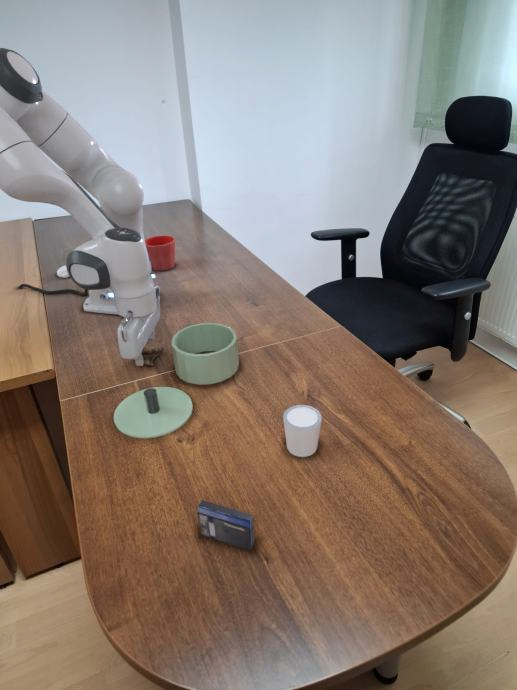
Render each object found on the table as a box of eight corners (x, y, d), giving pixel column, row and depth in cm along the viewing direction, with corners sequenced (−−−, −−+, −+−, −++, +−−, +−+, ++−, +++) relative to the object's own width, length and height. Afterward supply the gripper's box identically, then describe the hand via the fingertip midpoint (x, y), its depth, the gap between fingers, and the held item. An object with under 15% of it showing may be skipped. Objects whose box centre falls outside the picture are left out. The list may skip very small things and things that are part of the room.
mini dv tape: (200, 534, 70) (196, 507, 67) (205, 526, 71) (201, 499, 68) (251, 550, 67) (249, 523, 64) (255, 542, 68) (253, 515, 65)
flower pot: (141, 270, 162) (136, 243, 157) (158, 259, 170) (154, 234, 165) (167, 274, 158) (163, 246, 153) (184, 262, 167) (180, 236, 162)
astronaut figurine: (92, 275, 160) (90, 266, 158) (55, 279, 158) (53, 270, 157) (94, 266, 167) (92, 258, 166) (59, 269, 166) (57, 261, 164)
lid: (111, 446, 87) (105, 423, 84) (117, 396, 100) (112, 375, 97) (195, 433, 89) (192, 411, 86) (190, 386, 102) (187, 365, 100)
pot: (177, 390, 101) (172, 360, 97) (175, 355, 114) (170, 326, 110) (243, 381, 103) (241, 351, 99) (234, 347, 116) (231, 319, 112)
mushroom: (153, 364, 104) (146, 337, 105) (125, 372, 107) (119, 346, 108) (172, 362, 112) (166, 337, 112) (145, 370, 115) (140, 345, 115)
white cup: (310, 464, 81) (311, 434, 78) (276, 450, 84) (275, 421, 81) (326, 441, 86) (328, 411, 82) (294, 428, 89) (294, 400, 86)
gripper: (135, 324, 94) (146, 380, 101) (161, 283, 111) (169, 333, 119) (105, 324, 95) (118, 379, 102) (135, 283, 112) (145, 333, 119)
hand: (145, 354), depth 110 cm, fingers closed on mushroom, 7 cm apart
